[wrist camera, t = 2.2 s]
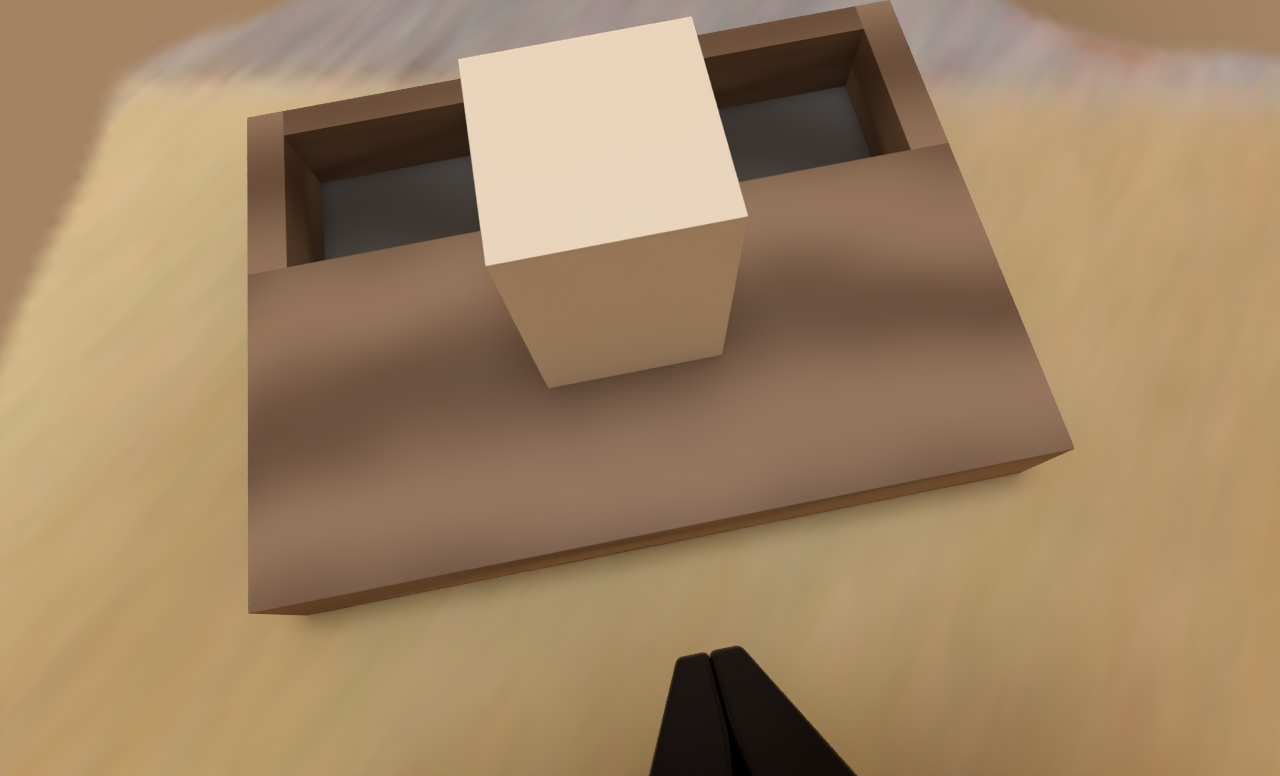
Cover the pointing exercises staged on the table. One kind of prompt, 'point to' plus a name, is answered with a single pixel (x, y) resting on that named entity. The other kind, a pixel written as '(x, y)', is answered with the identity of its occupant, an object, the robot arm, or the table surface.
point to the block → (606, 199)
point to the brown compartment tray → (633, 402)
